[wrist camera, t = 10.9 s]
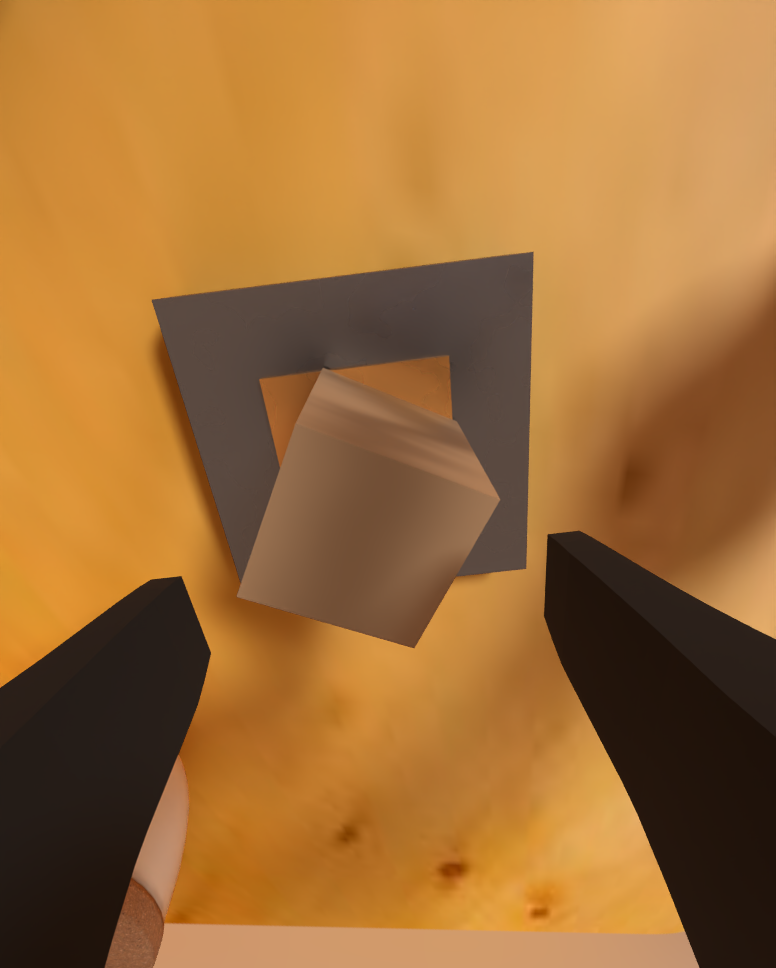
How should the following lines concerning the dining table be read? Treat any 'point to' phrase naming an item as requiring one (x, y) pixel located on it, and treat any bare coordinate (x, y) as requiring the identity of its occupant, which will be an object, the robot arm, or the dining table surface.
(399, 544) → the taupe wooden cube
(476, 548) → the grey square picture frame
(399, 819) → the dining table surface
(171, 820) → the lidded bowl
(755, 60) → the dining table surface
